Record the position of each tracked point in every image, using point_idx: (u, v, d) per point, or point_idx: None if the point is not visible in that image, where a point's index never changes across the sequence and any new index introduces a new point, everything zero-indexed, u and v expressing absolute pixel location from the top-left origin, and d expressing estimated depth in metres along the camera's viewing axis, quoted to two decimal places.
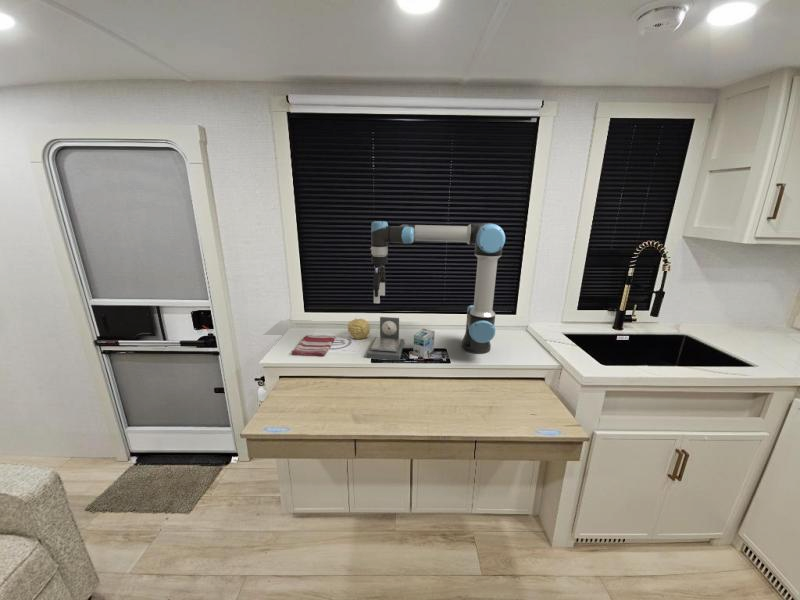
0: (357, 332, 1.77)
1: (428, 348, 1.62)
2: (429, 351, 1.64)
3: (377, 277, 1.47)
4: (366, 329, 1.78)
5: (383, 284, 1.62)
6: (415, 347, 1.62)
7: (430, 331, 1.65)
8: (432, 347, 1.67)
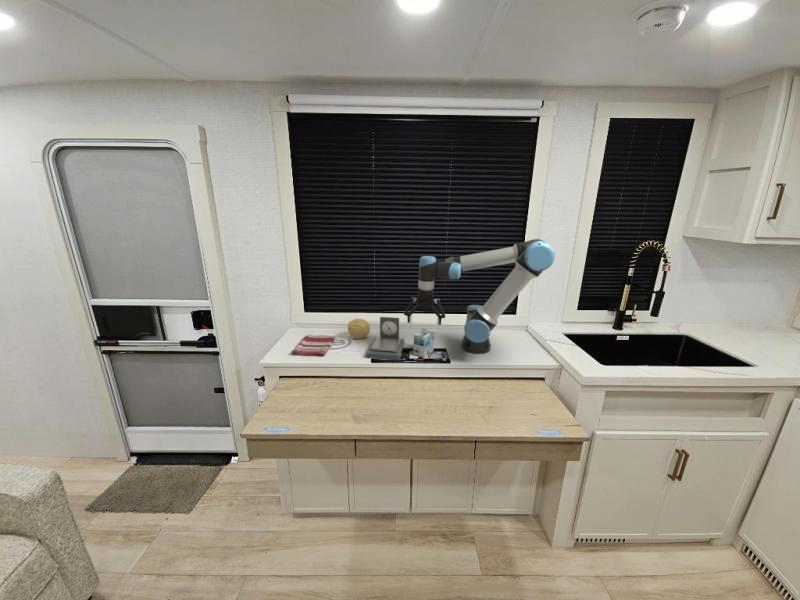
0: (357, 332, 1.77)
1: (428, 348, 1.62)
2: (429, 351, 1.64)
3: None
4: (366, 329, 1.78)
5: (437, 320, 1.60)
6: (415, 347, 1.62)
7: (430, 331, 1.65)
8: (432, 347, 1.67)
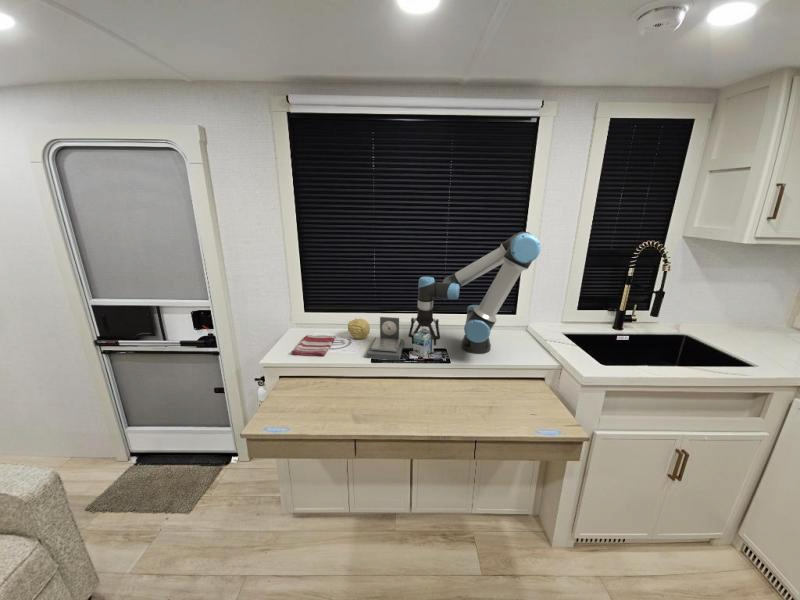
0: (357, 332, 1.77)
1: (428, 348, 1.62)
2: (429, 351, 1.64)
3: None
4: (366, 329, 1.78)
5: (432, 341, 1.63)
6: (415, 347, 1.62)
7: None
8: None
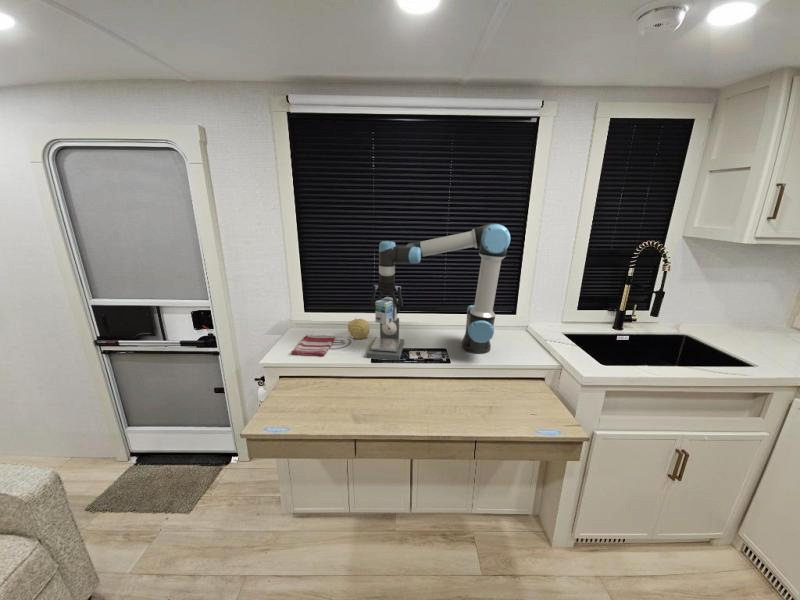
0: (357, 332, 1.77)
1: (390, 315, 1.58)
2: (392, 319, 1.60)
3: None
4: (366, 329, 1.78)
5: None
6: (377, 314, 1.57)
7: None
8: None
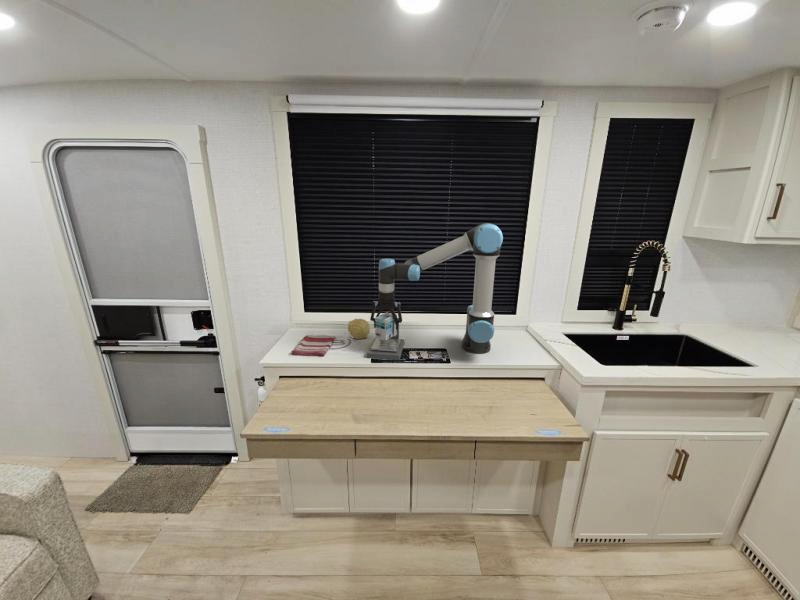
0: (357, 332, 1.77)
1: (389, 331, 1.60)
2: (391, 335, 1.62)
3: None
4: (366, 329, 1.78)
5: (394, 324, 1.61)
6: (377, 330, 1.60)
7: None
8: None
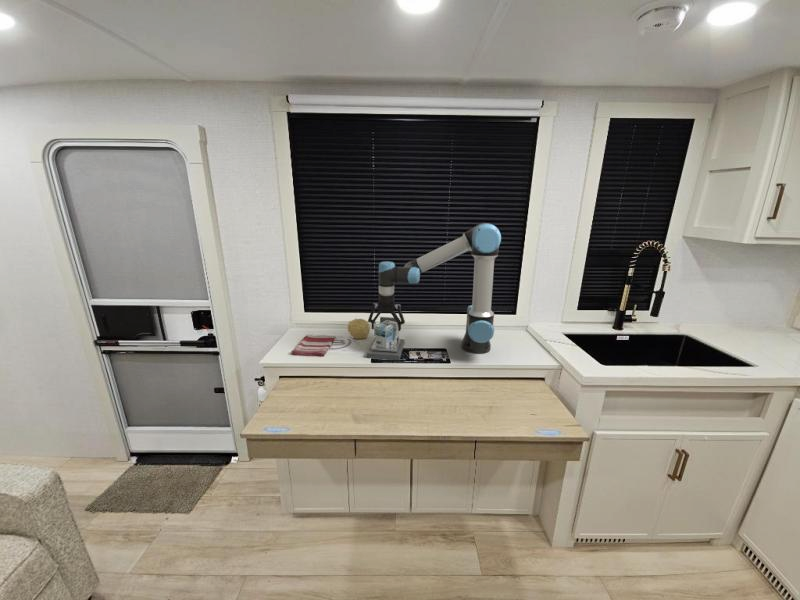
0: (357, 332, 1.77)
1: (390, 339, 1.61)
2: (391, 342, 1.64)
3: (371, 311, 1.61)
4: (366, 329, 1.78)
5: None
6: (377, 338, 1.61)
7: (392, 322, 1.65)
8: (395, 338, 1.66)
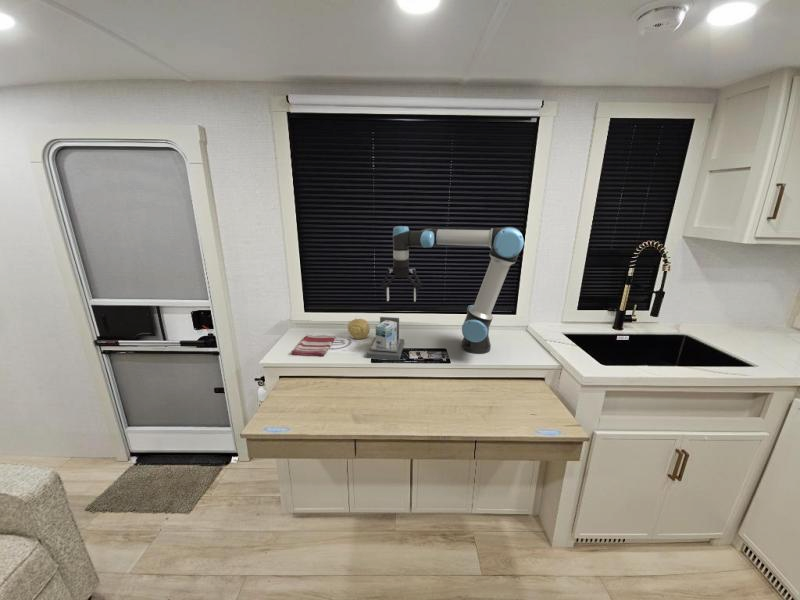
0: (357, 332, 1.77)
1: (390, 339, 1.61)
2: (391, 342, 1.64)
3: (385, 276, 1.61)
4: (366, 329, 1.78)
5: (414, 290, 1.62)
6: (377, 338, 1.61)
7: (392, 322, 1.65)
8: (395, 338, 1.66)
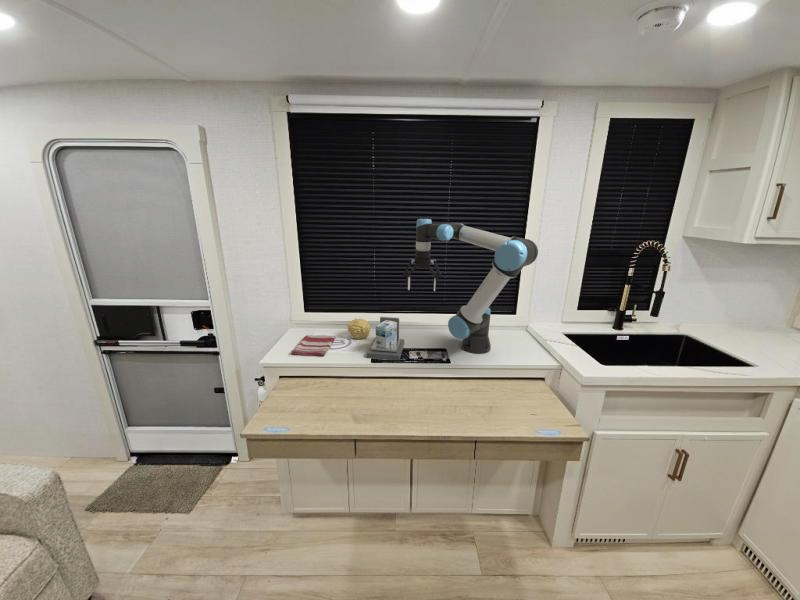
0: (357, 332, 1.77)
1: (390, 339, 1.61)
2: (391, 342, 1.64)
3: (407, 266, 1.70)
4: (366, 329, 1.78)
5: (434, 280, 1.70)
6: (377, 338, 1.61)
7: (392, 322, 1.65)
8: (395, 338, 1.66)
